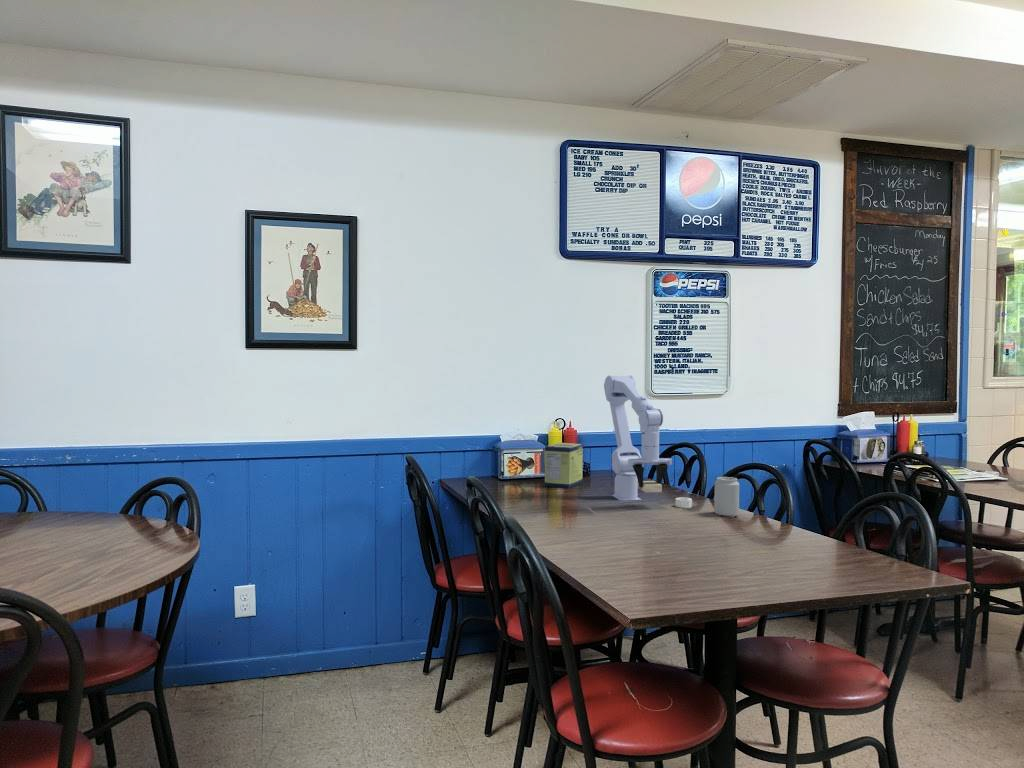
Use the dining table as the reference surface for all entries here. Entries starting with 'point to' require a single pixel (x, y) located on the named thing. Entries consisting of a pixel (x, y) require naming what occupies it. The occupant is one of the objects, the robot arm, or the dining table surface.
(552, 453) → the protein box
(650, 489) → the block
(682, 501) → the bowl
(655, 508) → the mat
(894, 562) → the dining table surface
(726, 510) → the can
